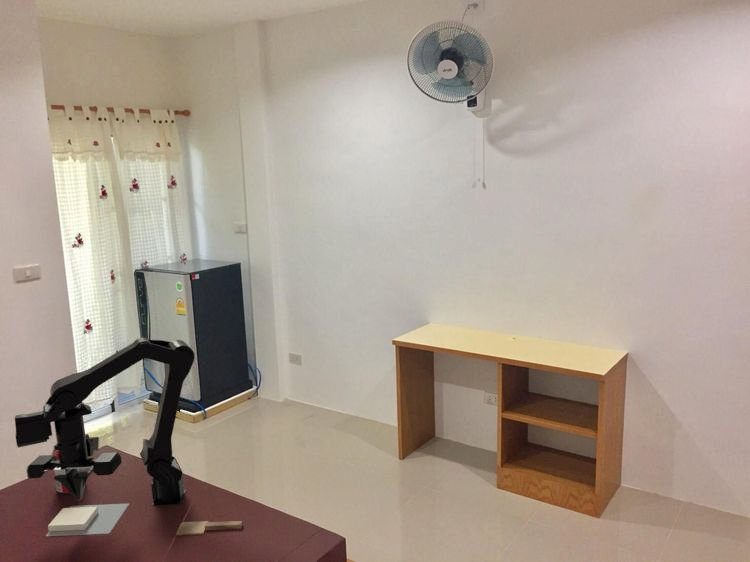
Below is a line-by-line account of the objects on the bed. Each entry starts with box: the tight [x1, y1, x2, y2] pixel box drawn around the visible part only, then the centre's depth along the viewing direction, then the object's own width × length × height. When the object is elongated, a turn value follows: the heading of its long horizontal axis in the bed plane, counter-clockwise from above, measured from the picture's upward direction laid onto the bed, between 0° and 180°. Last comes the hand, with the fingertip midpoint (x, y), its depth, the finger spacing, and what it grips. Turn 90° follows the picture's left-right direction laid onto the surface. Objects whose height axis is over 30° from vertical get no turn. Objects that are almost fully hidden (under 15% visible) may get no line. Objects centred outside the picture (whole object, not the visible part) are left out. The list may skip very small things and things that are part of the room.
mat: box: [45, 503, 130, 537], centre depth 138 cm, size 14×12×1 cm
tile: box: [47, 507, 98, 532], centre depth 137 cm, size 2×7×8 cm
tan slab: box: [175, 520, 243, 536], centre depth 134 cm, size 14×4×1 cm, turn 91°
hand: (79, 499), depth 136 cm, fingers closed
